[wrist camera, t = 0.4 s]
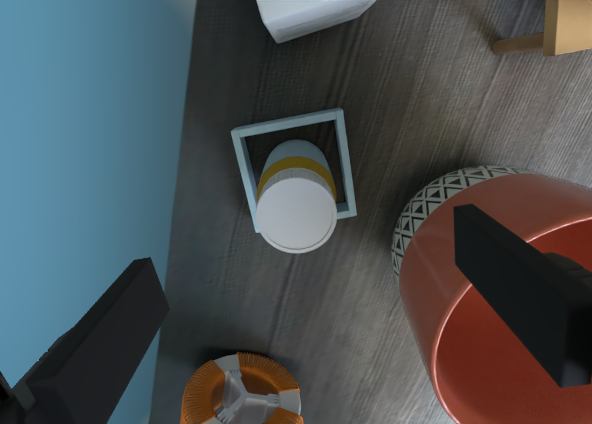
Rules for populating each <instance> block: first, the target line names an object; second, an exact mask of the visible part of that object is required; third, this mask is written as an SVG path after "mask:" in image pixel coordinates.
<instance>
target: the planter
mask: <svg viewBox="0 0 592 424" xmlns="http://www.w3.org/2000/svg"><path fill="white" fill-rule="evenodd" d="M466 204H474V205H475V206H477V207H478V208H479V209H481V210H482V211H484V212H485V213H486V214H488V215H489V216H491V217H492V218H493V219H495V220H496V221H498V222H499V223H500V224H502V225H503V226H505V227H506V228H507V229H509V230H510V231H512V232H513V233H515V234H516V235H517V236H519V237H520V238H522V239H523V240H524V241H526V242H527V243H529V244H530V245H531V246H533V247H534V248H536V249H537V250H538V251H540V252H541V253H547V252H554V253H557V254H560V255H563V256H565V257H568V258H571V259H572V260H574V261H575V262H577V263H578V264H580V265H581V266H583V268H584V269H587V270H589V271H590V272H592V188H590V187H586V186H583V185H580V184H577V183H574V182H570V181H567V180H564V179H560V178H556V177H553V176H549V175H546V174H542V173H539V172H536V171H532V170H527V169H523V168H518V167H511V166H494V165H491V166H477V167H469V168H464V169H460V170H457V171H454V172H451V173H448V174H446V175H443V176H441V177H439V178H437V179H435V180H434V181H432V182H430V183H429V184H427V185H426V186H425V187H424V188H422V189H421V190H420V191H419V192H418V193H417V194H416V195H415V196H414V197H413V198H412V199H411V200H410V201H409V203H408V204H407V205H406V207H405V208H404V210H403V211H402V213H401V215H400V217H399V219H398V222H397V224H396V227H395V230H394V234H393V239H392V247H391V263H392V272H393V277H394V281H395V284H396V288H397V291H398V294H399V296H400V299H401V302H402V305H403V308H404V311H405V314H406V316H407V319H408V322H409V324H410V327H411V330H412V332H413V335H414V338H415V340H416V343H417V346H418V349H419V352H420V355H421V358H422V361H423V363H424V366H425V368H426V371H427V374H428V376H429V379H430V381H431V384H432V386H433V389H434V391H435V394H436V396H437V398H438V400H439V402H440V404H441V406H442V407H443V409H444V410H445V412H446V413H447V414H448V416H449V417H450V418H451V419H452V420H453V421H454V422H455V423H456V424H592V377H591V384H588V385H581V386H573V387H565V388H560V387H559V386H558V385H557V384H556V382H555V381H554V380H553V379H552V378H551V376H550V375H549V374H548V373H547V372H546V371H545V369H544V368H543V367H542V366H541V365H540V364H539V362H538V361H537V360H536V359H535V358H534V357H533V355H532V354H531V353H530V352H529V351H528V349H527V348H526V347H525V346H524V345H523V344H522V342H521V341H520V340H519V339H518V338H517V337H516V335H515V334H514V333H513V332H512V331H511V330H510V328H509V327H508V326H507V325H506V324H505V322H504V321H503V320H502V319H501V318H500V317H499V315H498V314H497V313H496V312H495V311H494V310H493V308H492V307H491V306H490V305H489V304H488V303H487V301H486V300H485V299H484V298H483V297H482V295H481V294H480V293H479V292H478V291H477V290H476V288H475V287H474V286H473V285H472V284H471V283H470V281H469V280H468V279H467V278H466V277H465V275H464V274H463V273H462V272H461V271H460V270H459V268H458V267H457V266H456V265H455V248H454V211H453V207H454V206H460V205H466Z"/></svg>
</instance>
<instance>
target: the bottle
mask: <svg viewBox="0 0 592 424" xmlns="http://www.w3.org/2000/svg"><path fill="white" fill-rule="evenodd" d="M336 198H337V196H336V187H335V183H334V180H333V177H332V174H331V172H330V169H329V166H328V163H327V161H326V158H325V156H324V154H323V153H322V151H321V150H320V149H319V148H318V147H317V146H316V145H314V144H312V143H311V142H309V141H306V140H301V139H292V140H287V141H285V142H283V143H280V144H279V145H277V146H276V147H275V148H274V149H273V150H272V152H271V153H270V155H269V157H268V159H267V161H266V164H265V167H264V169H263V172H262V175H261V177H260V180H259V183H258V189H257V207H256V223H257V226H258V228H259V231H260V233H261V234H262V236H263V237H264V238H265V240H266V241H267V242H268V243H269V244H271V245H272V246H274V247H275V248H277V249H279V250H282V251H285V252H289V253H304V252H308V251H311V250H314V249H316V248H318V247H319V246H321V245H322V244H324V243H325V242H326V241H327V240H328V238H329V237H330V236H331V234H332V233H333V231H334V228H335V225H336V221H337V208H336Z"/></svg>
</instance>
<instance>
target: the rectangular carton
mask: <svg viewBox="0 0 592 424" xmlns="http://www.w3.org/2000/svg"><path fill="white" fill-rule="evenodd" d="M256 1H257V5H258V8H259V11H260V14H261V18H262V21H263V23H264V24H265V26H266V27H267V29H268V30H269V32H270V34H271V35H272V37H273V38H274V40H275V41H276V43H282V42H285V41H289V40H292V39H295V38H298V37H301V36H304V35H307V34H310V33H313V32H316V31H319V30H322V29H325V28H328V27H331V26H334V25H337V24H340V23H343V22H346V21H349V20H352V19H355V18H358V17H359V16H360V15H361V14H362V13H363V12H364V11H366V10H367V9H368V8H369V7H370V6H371V5H372V4H373V3H374V2H375V1H376V0H256Z"/></svg>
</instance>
